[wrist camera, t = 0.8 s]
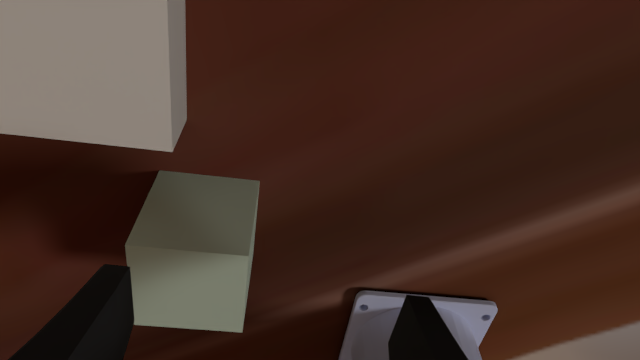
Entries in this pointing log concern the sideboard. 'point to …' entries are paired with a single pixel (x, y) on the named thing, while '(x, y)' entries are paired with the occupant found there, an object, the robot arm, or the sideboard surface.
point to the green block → (193, 252)
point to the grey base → (94, 71)
